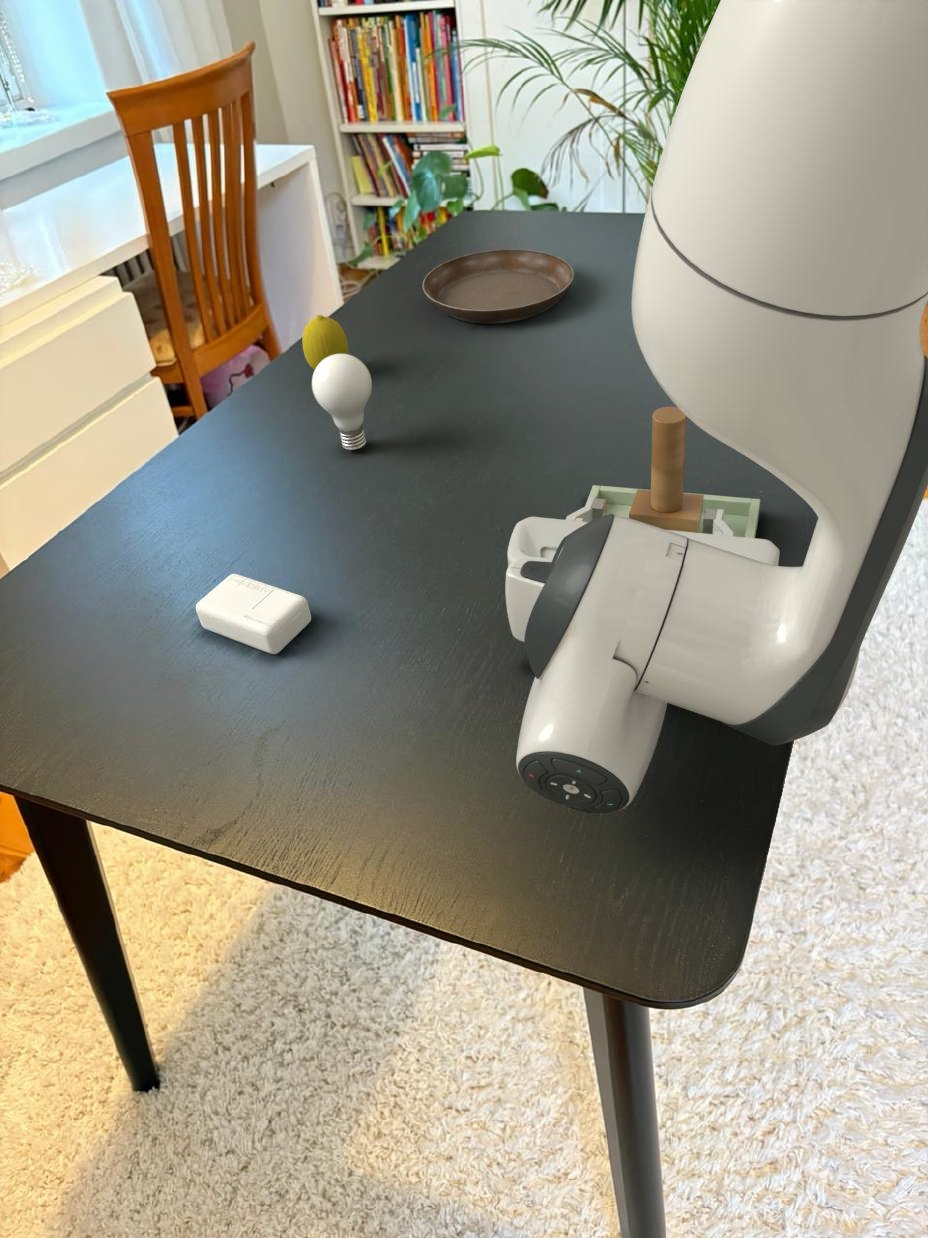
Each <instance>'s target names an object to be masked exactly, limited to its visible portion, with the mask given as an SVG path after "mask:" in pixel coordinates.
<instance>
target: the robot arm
mask: <svg viewBox="0 0 928 1238" xmlns="http://www.w3.org/2000/svg"><path fill="white" fill-rule="evenodd" d="M667 132H668V133H667V135H666V139H665V142H664V145H663V148H662V153H661V156H660V158H659V162H658V166H657V168H656V169H657V170H656V172H655V176H654V180H653V184H652V188H651V190H650V194H649V197H648V201H647V206H646V210H645V214H644V217H643V223H642V226H641V232H640V236H639V242H638V246H637V252H636V257H635V265H634V272H633V280H632V289H631V320H632V325H633V330H634V334H635V338H636V342H637V344H638V346H639V349H640V352H641V353H642V355H643V358H644V360H645V363H646V364H647V366H648V368H649V371H650V372H651V374H652V375H653V377H654V379H655V380H656V382H657V383H658V386H660V387H661V389H662V390H663V392H664V393H665V394H666V395H667V397H668V398H669V399H670V401H671V402H672V403H673V404H674V405H675V407H678V408H679V409H680V410H681V411H682V412H683V413H684V414H685V415H686V416H687V419H689V420H690V421H692V423H693V424H695V426H697V427H698V428H700V430H702V431H704V432H705V433H706V434H708V436H709V435H710V436H711V437H713V438H714V439H716V440H717V441H719V442H721V443H723V444H724V445H725V446H728V447H729V448H731V449H733V450H734V451H736V452H738V453H740V454H741V455H743V456H744V457H746V458H748V459H749V460H751V461H752V462H754V463H755V464H757V465H759V466H760V467H762V468H763V469H765V470H766V471H768V472H769V473H771V474H772V475H773V476H775V477H776V479H779V480H780V481H781V482H783V483H784V484H785V486H786V485H787V487H789V488H791V490H792V491H794V492H795V493H796V494H797V495H798V496H799V497H801V499H802V500H803V501H805V503H807V504H808V506H809V507H810V508H811V509H812V510H813V512H814V513H815V514H816V516H817V521H816V523H815V524H816V525H815V526H814V530H813V533H812V537H811V540H810V543H809V546H808V549H807V552H806V554H805V555H806V556H805V558H804V561H803V565H802V566H781V565H779V563H780V554H781V553H780V549H779V547H778V546H776V545H775V543H773V542H772V541H771V540H769V539H765V538H756V537H755V538H746V537H736V536H734V532H733V531H732V530H731V529H730V527H729V526H728V525H727V524H726V523H725V522H724V509H710V508H705V513H704V517H703V529H702V533H695V532H685V531H674V530H665V529H662V528H659V527H655V526H652V525H649V524H646V523H643V522H639V521H636V520H633V519H630V518H626V517H621V516H616V515H614V514H609V515H607V507H606V505H607V499H601V498H592V497H589V496H588V497H589V498H588V497H587V500H588V501H587V500H586V502H587V503H585V505H586V506H585V505H584V507H581V508H580V509H578V510H576V511H574V512H572V513H570V514H568V515H566V518H565V519H560V518H559V519H558V518H550V517H543V516H542V517H540V516H529V517H526V518H523V519H521V520H520V521H518V522H517V523H516V524H515V526H514V527H513V530H512V532H511V536H510V537H509V538H510V539H509V542H508V545H507V552H506V555H507V568H506V571H505V580H504V581H505V582H504V583H505V586H504V587H505V589H504V591H505V606H506V612H507V619H508V623H509V628H510V631H511V634H512V637H514V638H515V639H516V640H517V641H520V642H523V643H524V647H525V651H526V655H527V659H528V663H529V665H530V668H531V671H532V673H533V675H534V679H533V681H532V685H531V688H530V690H529V694H528V697H527V701H526V705H525V707H524V712H523V716H522V720H521V726H520V731H519V735H518V742H517V748H516V755H515V766H516V770H517V773H518V775H519V776H520V778H521V780H522V781H523V782H524V783H525V784H526V785H527V787H529V788H530V789H531V790H532V791H534V792H536V794H538V796H541V797H543V798H545V799H547V800H548V801H551V802H554V803H556V804H559V805H561V806H564V807H567V808H570V809H573V810H575V811H579V812H582V813H586V814H591V813H592V814H612V813H615V812H616V813H617V812H618V811H621V810H624V809H626V808H627V807H628V806H629V805H630V804H631V803H632V802H633V800H634V799H635V797H636V795H637V793H638V791H639V789H640V787H641V785H642V782H643V781H644V779H645V775H646V774H647V771H648V768H649V766H650V764H651V761H652V759H653V756H654V753H655V750H656V747H657V744H658V741H659V738H660V734H661V732H662V728H663V724H664V721H665V716H666V713H667V707H668V704H670V705H673V706H676V707H679V708H681V709H685V710H688V711H690V712H692V713H696V714H699V715H701V716H704V717H707V718H709V719H710V718H711V719H712V720H716V721H718V722H720V723H721V724H722V725H724V726H726V727H728V728H731V729H733V730H736V731H737V732H739V733H742V734H744V735H747V736H749V737H751V738H753V739H756V740H758V741H761V742H763V743H765V744H767V745H770V746H772V747H773V746H775V747H776V746H781V745H783V744H788V743H790V742H791V743H792V742H794V741H797V740H800V739H802V738H805V737H807V736H810V735H812V734H814V733H816V732H819V731H820V730H822V729H824V728H826V727H827V726H828V725H829V724H830V723H831V722H832V720H833V719H834V717H835V715H836V714H837V712H838V711H839V710H840V708H842V705H843V703H844V701H845V699H846V697H847V696H848V694H849V691H850V689H851V686H852V684H853V681H854V678H855V675H856V671H857V668H858V664H859V659H860V652H861V647H862V644H863V641H864V640H865V636H866V634H867V632H868V630H869V627H870V625H871V622H872V620H873V618H874V616H875V614H876V611H877V609H878V606H879V605H880V602H881V600H882V597H883V596H884V592H885V591H886V588H887V586H888V584H889V581H890V580H891V577H892V575H893V573H894V571H895V568H896V566H897V563H898V561H899V559H900V556H901V554H902V552H903V550H904V547H905V545H906V543H907V540H908V538H909V535H910V533H911V531H912V528H913V525H914V524H915V520H916V518H917V515H918V513H919V510H920V508H921V505H922V502H923V499H924V497H925V495H926V491H927V489H928V356H927V355H924V351H923V347H922V339H921V328H922V320H923V315H924V313H925V309H926V307H927V304H928V0H720V1H719V3H718V6H717V8H716V10H715V12H714V14H713V17H712V19H711V21H710V24H709V26H708V28H707V30H706V33H705V35H704V36H703V39H702V42H701V43H700V46H699V49H698V51H697V54H696V57H695V58H694V61H693V64H692V66H691V69H690V71H689V74H688V77H687V79H686V82H685V84H684V86H683V89H682V91H681V95H680V98H679V101H678V104H677V107H676V109H675V113H674V115H673V118H672V121H671V124H670V127H669V130H668V131H667Z"/></svg>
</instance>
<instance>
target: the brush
mask: <svg viewBox="0 0 928 1238" xmlns="http://www.w3.org/2000/svg"><path fill="white" fill-rule="evenodd" d="M651 417H652V421H651V460H650V461H651V465H650V471H651V472H650V489H645V490H640V489H641V488H636V489H637V491H636V494H635V497H634V500H633V503H632V506H631V509H630V512H629V518H630V519H633V520H636V521H639V522H643V523H646V524H649V525H652V526H655V527H659V528H662V529H665V530H674V531H685V532H695V533H698V531H699V526H700V522H701V518H702V514H703V500H704V495H705V494H704V495H698V494H699V493H693V494H686V493H687V492H684V484H685V462H686V442H687V419H688V417H687V416H686V415H685V414H684V413H683V412H682V411H681V410H680V409H679V408H678V407H677V406H663V407H660V408H657V409H656V410H654V411H653V413H652V415H651Z"/></svg>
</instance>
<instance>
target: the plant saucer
mask: <svg viewBox="0 0 928 1238" xmlns="http://www.w3.org/2000/svg"><path fill="white" fill-rule="evenodd" d="M572 266H573V265H571V264H570V263H569V262H568V261H567V260H566V259H564V258H562V257H560V256H557V255H555V254H552V253H549V252H545V251H540V250H533V249H524V248H523V249H521V248H504V249H502V248H501V249H490V250H484V251H478V252H472V253H469V254H468V253H467V254H464V255H461V256H458V257H455V258H452V259H450V260H448V261H445V262H443V263H441V264H439V265H438V266H436V267H434V268H433V269H432V270H430V271H429V272H428V273H427V274H426V276H425V277H424V279H423V281H422V290H423V292H424V295H425V296H426V297H427V299H429V301H430V302H431V303H432V304H434V306H435V307H436V308H438V309H439V310H440V311H441V312H442V313H444V314H446V315H447V316H450V317H451V318H454V319H457V320H460V321H463V322H467V323H473V324H485V325H487V324H490V325H491V324H506V323H512V322H518V321H522V320H525V319H530V318H533V317H535V316H538V315H539V314H541V313H544V312H545V311H547V310H549V309H550V308H552V307H553V306H554V305H555V304H557V303H558V302H559V301H560V300H561V299H562V297H564V295H565V294H566V292H567V291H568V290H569V287H570V286H571V285H572V283H573V282H574V281H573V280H574V278H575V271H574V268H573V267H572Z"/></svg>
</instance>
